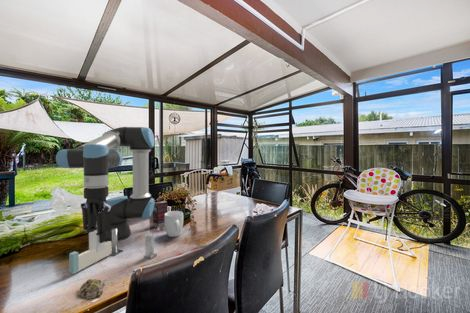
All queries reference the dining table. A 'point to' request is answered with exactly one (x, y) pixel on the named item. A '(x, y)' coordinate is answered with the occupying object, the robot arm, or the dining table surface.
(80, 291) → the mineral rock
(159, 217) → the supplement box
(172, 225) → the mug
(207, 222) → the dining table surface
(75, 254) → the gate
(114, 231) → the hinge post
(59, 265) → the dining table surface
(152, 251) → the latch post
